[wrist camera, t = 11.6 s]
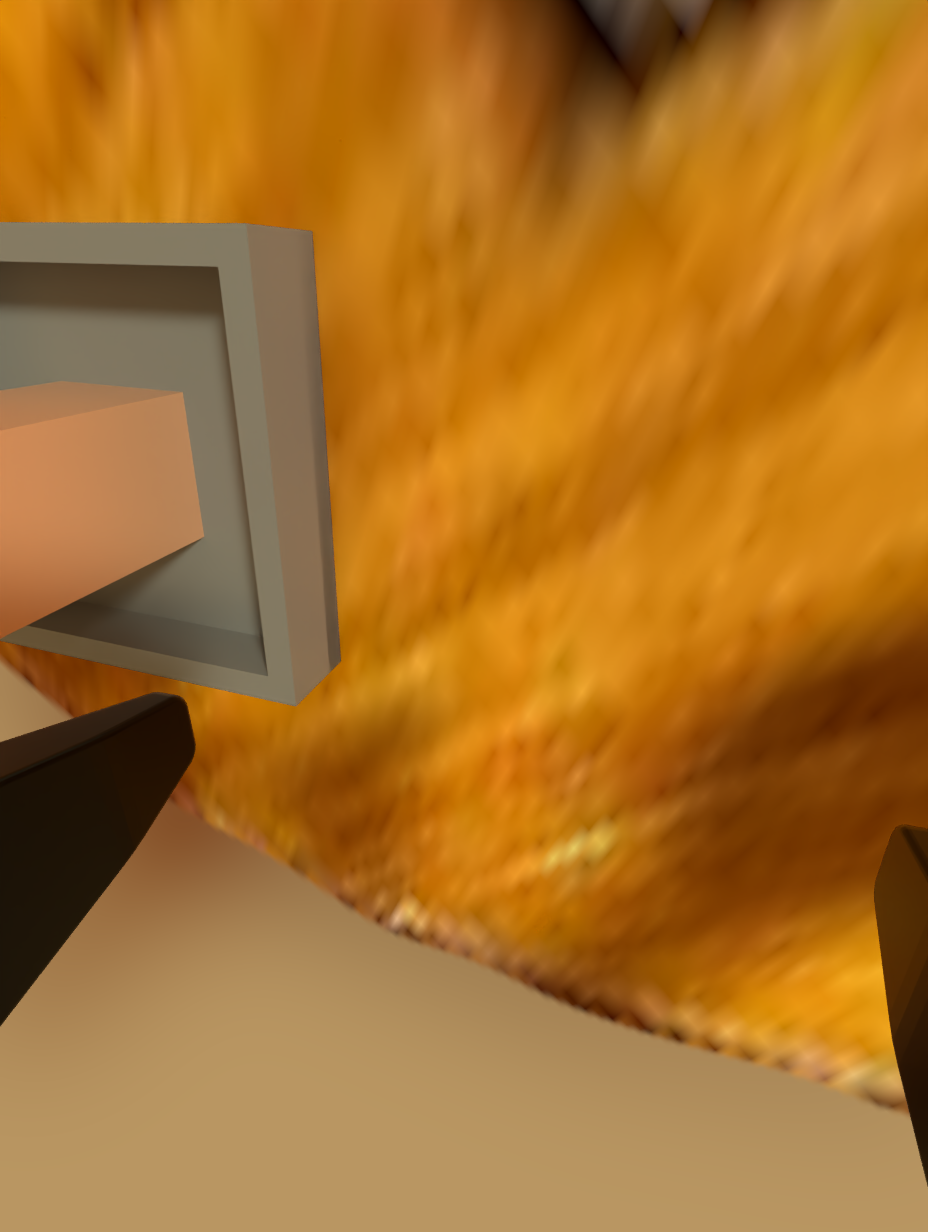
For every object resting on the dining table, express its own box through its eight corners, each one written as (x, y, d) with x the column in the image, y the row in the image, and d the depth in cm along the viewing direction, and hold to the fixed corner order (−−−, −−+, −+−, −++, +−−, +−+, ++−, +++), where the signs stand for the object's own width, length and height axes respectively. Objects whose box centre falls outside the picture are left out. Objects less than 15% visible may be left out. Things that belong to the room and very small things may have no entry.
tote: (312, 231, 18) (246, 223, 16) (340, 661, 24) (296, 706, 22) (-57, 228, 22) (-159, 221, 19) (46, 603, 28) (-22, 635, 25)
